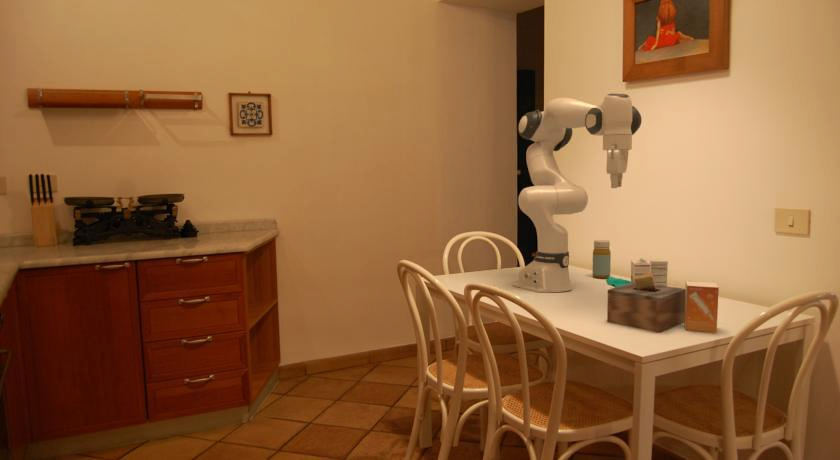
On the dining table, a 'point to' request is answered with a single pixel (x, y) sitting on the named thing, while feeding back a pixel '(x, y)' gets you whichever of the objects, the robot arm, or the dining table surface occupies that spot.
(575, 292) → the dining table surface
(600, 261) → the bottle
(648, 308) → the collection bin
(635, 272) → the syrup box
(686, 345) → the dining table surface
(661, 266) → the supplement box
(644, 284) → the upright wooden block
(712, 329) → the small box
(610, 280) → the cloth
